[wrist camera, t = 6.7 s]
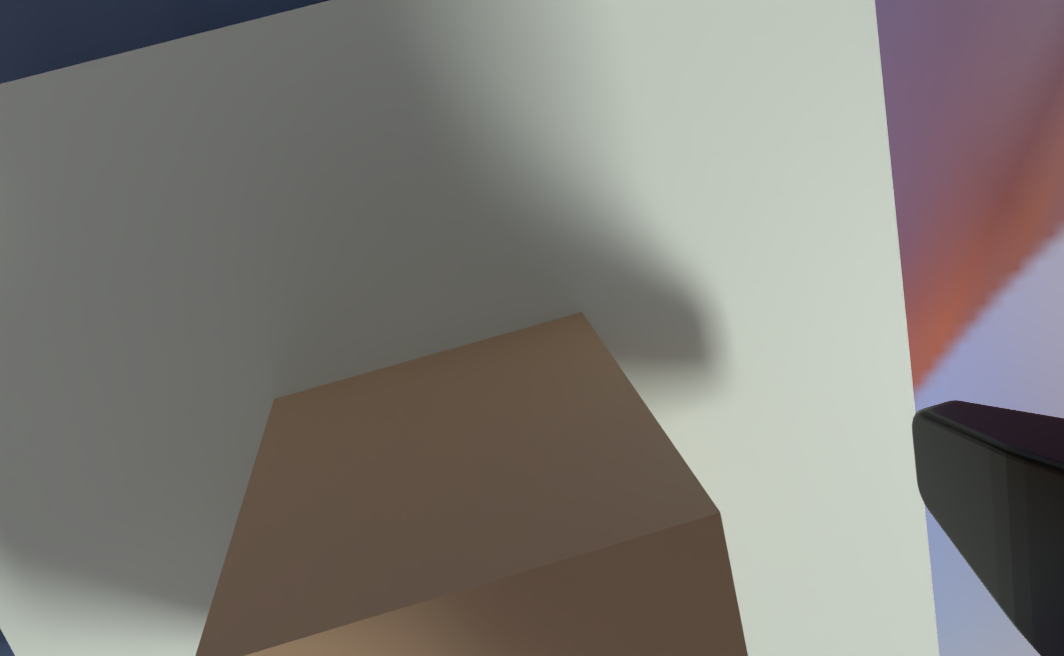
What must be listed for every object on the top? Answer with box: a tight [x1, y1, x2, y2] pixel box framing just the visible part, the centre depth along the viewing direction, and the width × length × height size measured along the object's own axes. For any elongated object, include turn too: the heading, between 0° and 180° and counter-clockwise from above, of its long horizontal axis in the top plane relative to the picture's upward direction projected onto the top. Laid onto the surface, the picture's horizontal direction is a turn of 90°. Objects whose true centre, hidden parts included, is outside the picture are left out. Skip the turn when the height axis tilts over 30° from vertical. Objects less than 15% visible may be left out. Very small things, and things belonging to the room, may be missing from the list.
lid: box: [0, 0, 939, 656], centre depth 9 cm, size 11×11×5 cm
